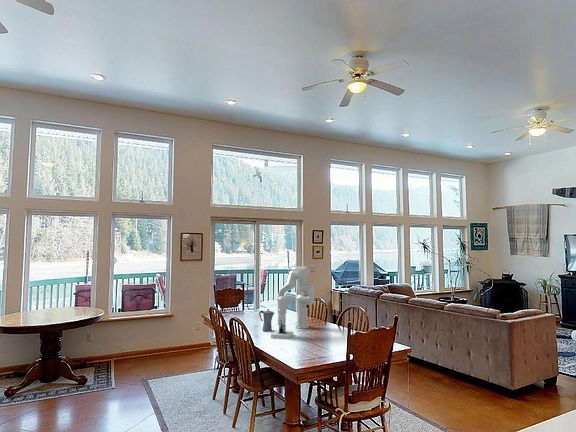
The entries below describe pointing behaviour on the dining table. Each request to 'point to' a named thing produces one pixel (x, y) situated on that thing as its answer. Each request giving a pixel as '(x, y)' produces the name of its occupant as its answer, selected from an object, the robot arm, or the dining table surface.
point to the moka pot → (267, 319)
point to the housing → (282, 335)
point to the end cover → (283, 329)
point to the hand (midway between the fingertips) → (282, 332)
